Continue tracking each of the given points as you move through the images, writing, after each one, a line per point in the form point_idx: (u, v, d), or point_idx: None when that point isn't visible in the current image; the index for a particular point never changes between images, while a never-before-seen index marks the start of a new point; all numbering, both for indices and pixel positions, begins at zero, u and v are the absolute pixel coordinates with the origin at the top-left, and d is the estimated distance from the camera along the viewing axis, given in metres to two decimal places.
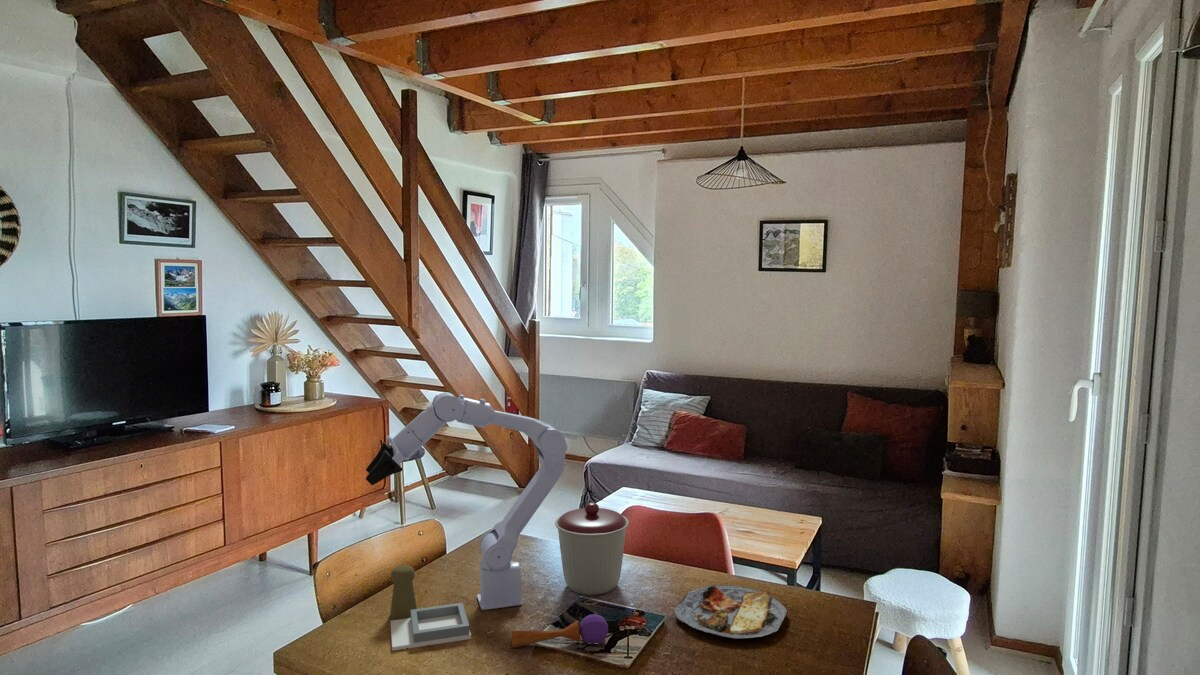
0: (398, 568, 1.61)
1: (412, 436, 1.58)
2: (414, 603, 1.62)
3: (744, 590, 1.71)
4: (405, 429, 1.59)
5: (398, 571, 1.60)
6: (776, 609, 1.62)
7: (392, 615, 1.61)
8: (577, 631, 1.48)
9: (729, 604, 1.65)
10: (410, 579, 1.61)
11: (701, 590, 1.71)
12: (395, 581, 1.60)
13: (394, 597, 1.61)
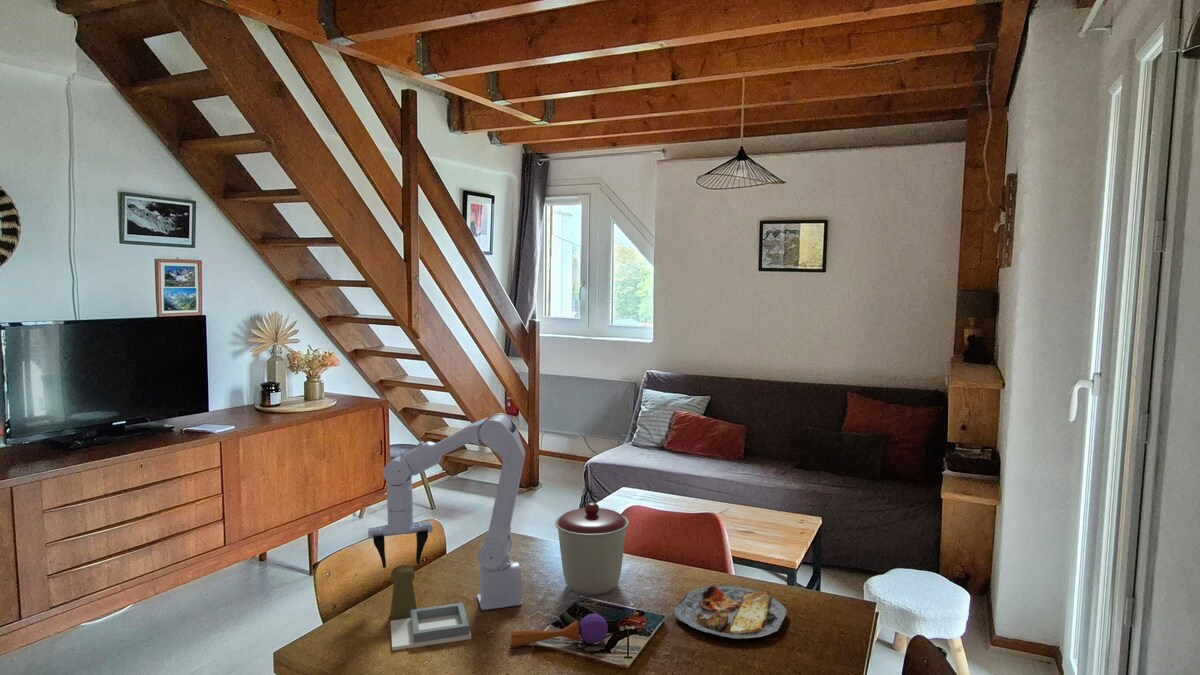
0: (398, 568, 1.61)
1: None
2: (414, 603, 1.62)
3: (744, 590, 1.71)
4: None
5: (398, 571, 1.60)
6: (776, 609, 1.62)
7: (392, 615, 1.61)
8: (576, 630, 1.48)
9: (729, 604, 1.65)
10: (410, 579, 1.61)
11: (701, 590, 1.71)
12: (395, 581, 1.60)
13: (394, 597, 1.61)
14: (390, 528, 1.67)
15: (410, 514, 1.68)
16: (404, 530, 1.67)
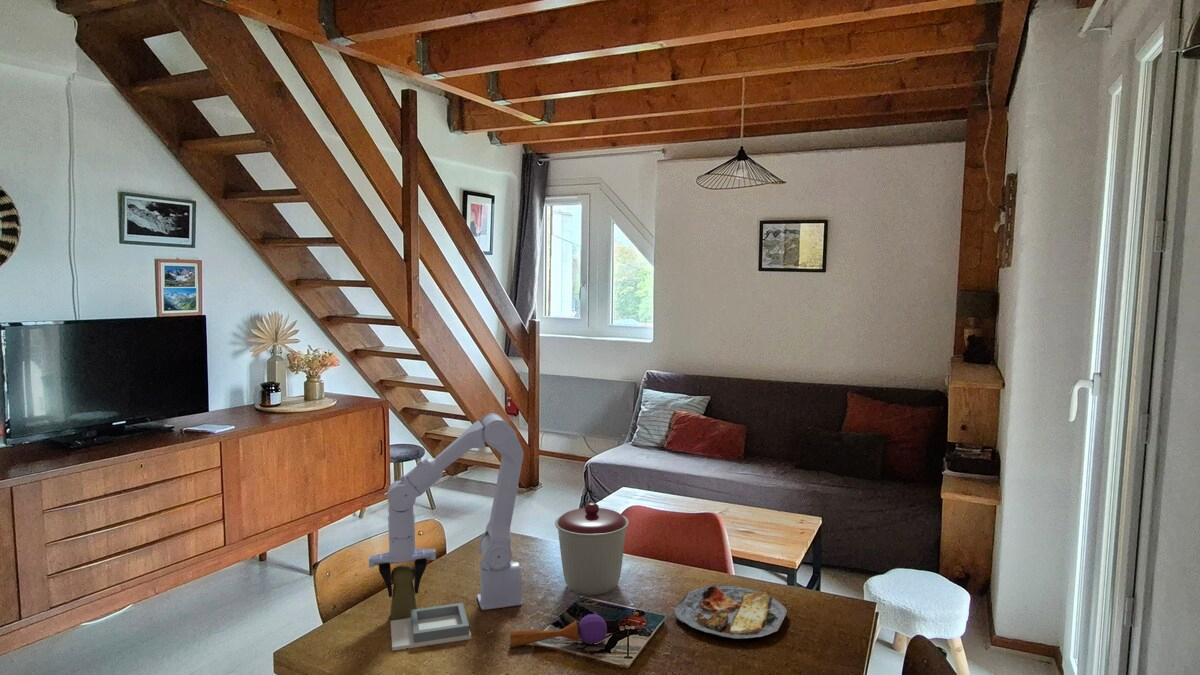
0: (398, 568, 1.61)
1: None
2: (414, 603, 1.62)
3: (744, 590, 1.71)
4: None
5: (398, 571, 1.60)
6: (776, 609, 1.62)
7: (392, 615, 1.61)
8: (576, 631, 1.48)
9: (729, 604, 1.65)
10: (410, 579, 1.61)
11: (701, 590, 1.71)
12: (395, 581, 1.60)
13: (394, 597, 1.61)
14: (392, 556, 1.59)
15: (412, 541, 1.61)
16: (406, 558, 1.59)
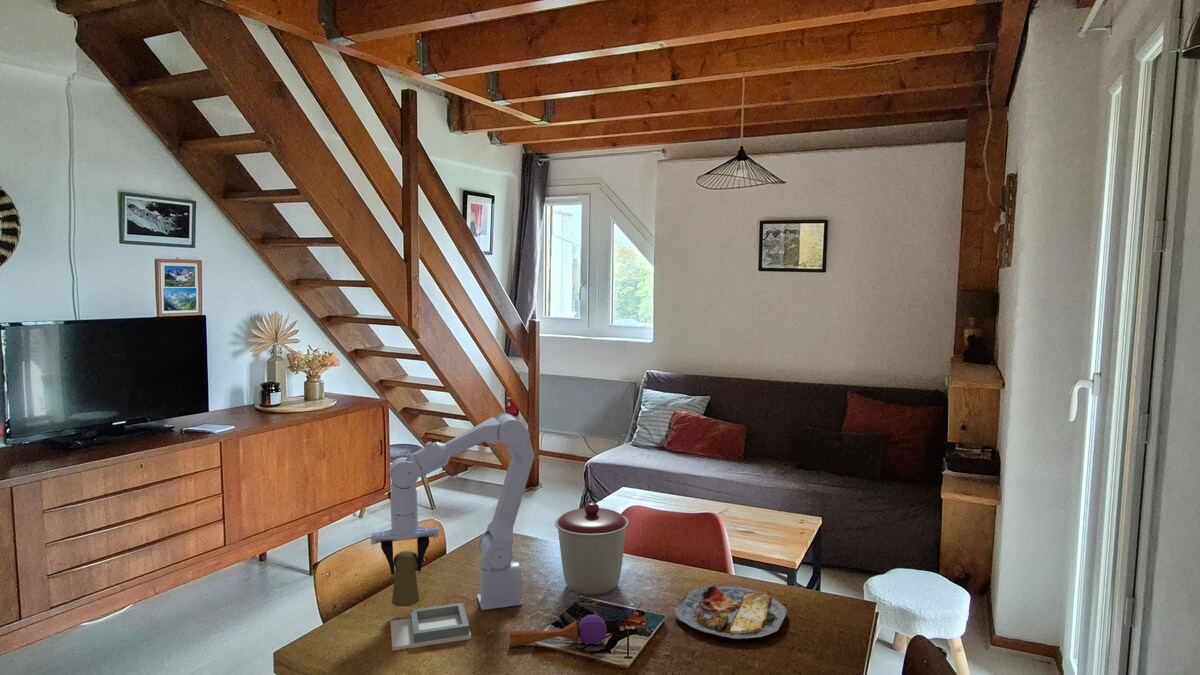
0: (401, 554, 1.61)
1: None
2: (416, 589, 1.61)
3: (744, 590, 1.71)
4: None
5: (401, 556, 1.59)
6: (776, 609, 1.62)
7: (394, 601, 1.60)
8: (575, 631, 1.48)
9: (729, 604, 1.65)
10: (413, 565, 1.60)
11: (701, 590, 1.71)
12: (398, 566, 1.59)
13: (396, 583, 1.60)
14: (394, 533, 1.58)
15: (415, 518, 1.60)
16: (409, 535, 1.58)
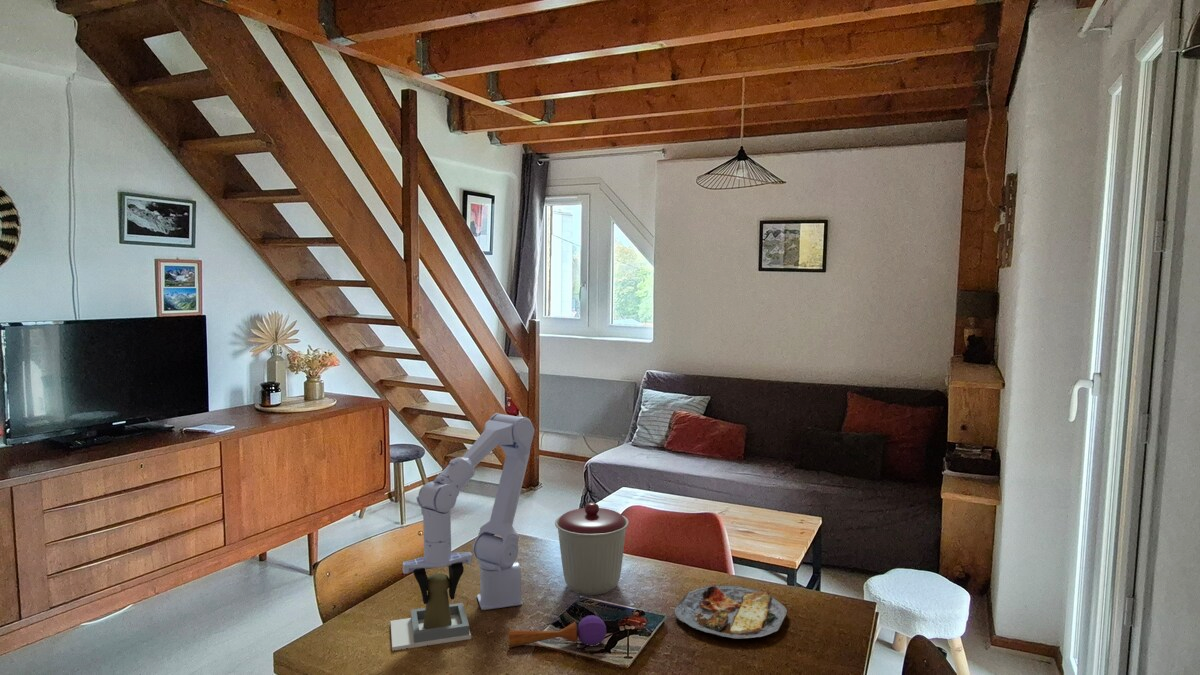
0: (433, 576, 1.55)
1: None
2: (449, 612, 1.56)
3: (744, 590, 1.71)
4: None
5: (434, 579, 1.54)
6: (776, 609, 1.62)
7: (427, 626, 1.54)
8: (574, 632, 1.47)
9: (729, 604, 1.65)
10: (446, 588, 1.54)
11: (701, 590, 1.71)
12: (431, 590, 1.53)
13: (429, 607, 1.54)
14: (428, 561, 1.52)
15: (449, 545, 1.53)
16: (444, 563, 1.52)
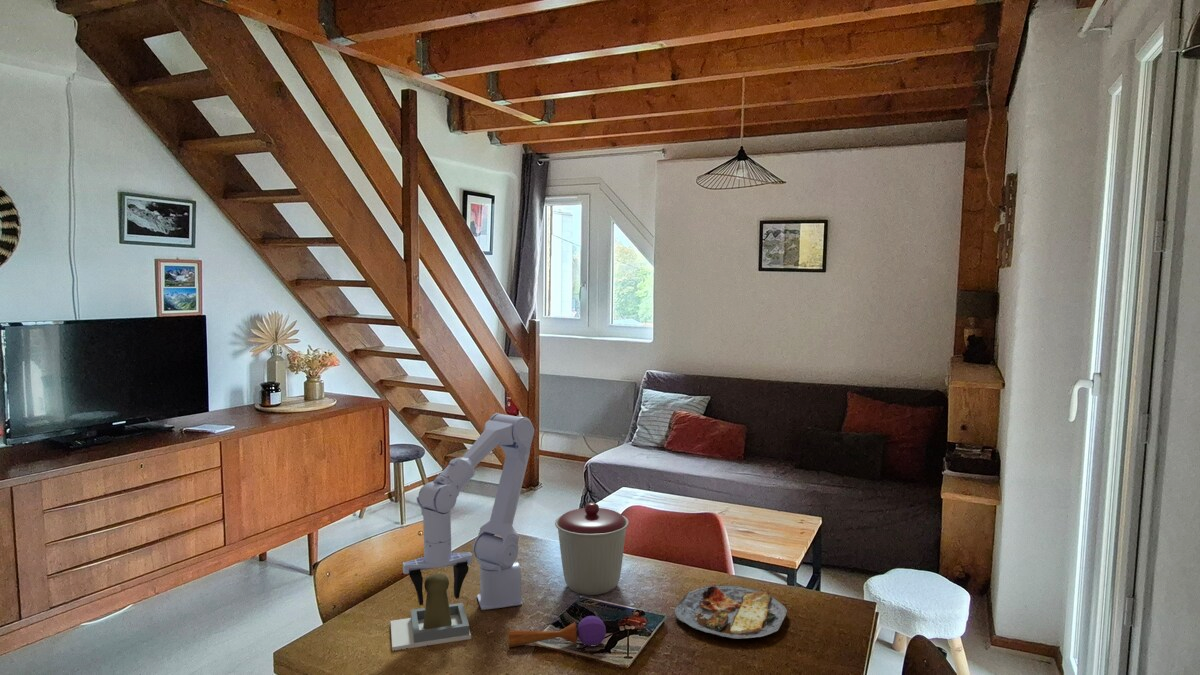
0: (432, 577, 1.55)
1: None
2: (449, 612, 1.56)
3: (744, 590, 1.71)
4: None
5: (433, 580, 1.53)
6: (776, 609, 1.62)
7: (427, 626, 1.54)
8: (574, 632, 1.47)
9: (729, 604, 1.65)
10: (446, 588, 1.54)
11: (701, 590, 1.71)
12: (431, 591, 1.53)
13: (429, 607, 1.54)
14: (428, 561, 1.52)
15: (449, 545, 1.53)
16: (444, 563, 1.52)
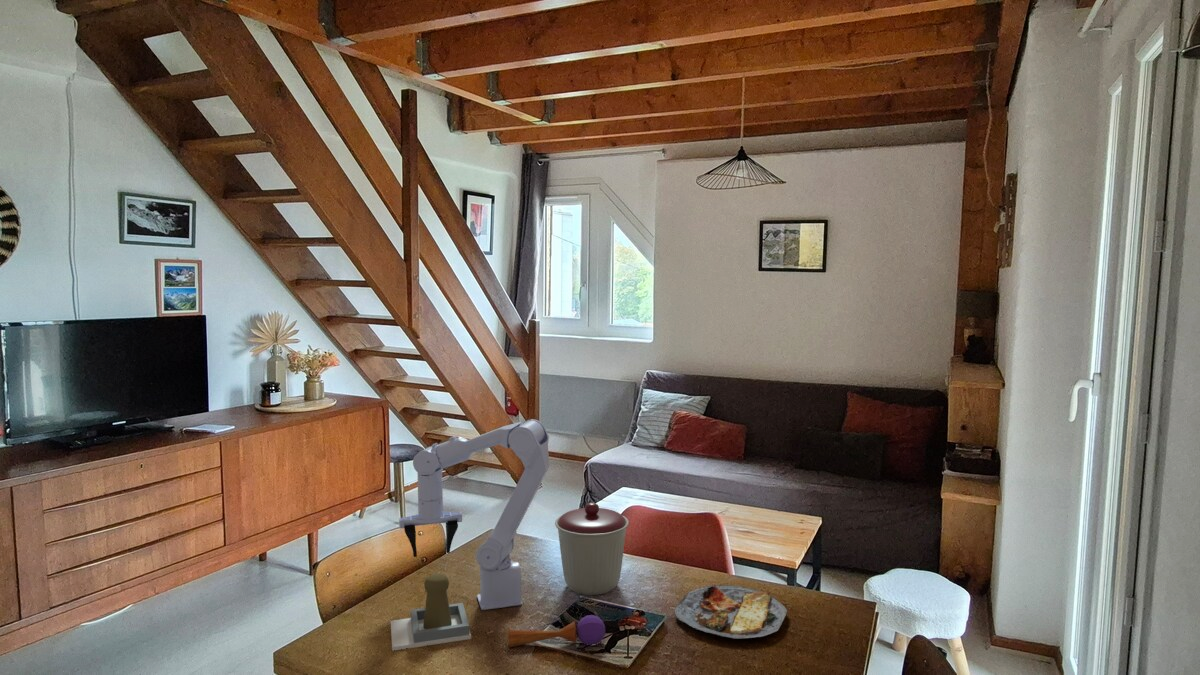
0: (432, 577, 1.55)
1: None
2: (449, 612, 1.56)
3: (744, 590, 1.71)
4: None
5: (433, 580, 1.53)
6: (776, 609, 1.62)
7: (427, 626, 1.54)
8: (573, 631, 1.48)
9: (729, 604, 1.65)
10: (446, 588, 1.54)
11: (701, 590, 1.71)
12: (431, 591, 1.53)
13: (429, 607, 1.54)
14: (421, 518, 1.69)
15: (440, 504, 1.70)
16: (435, 519, 1.68)
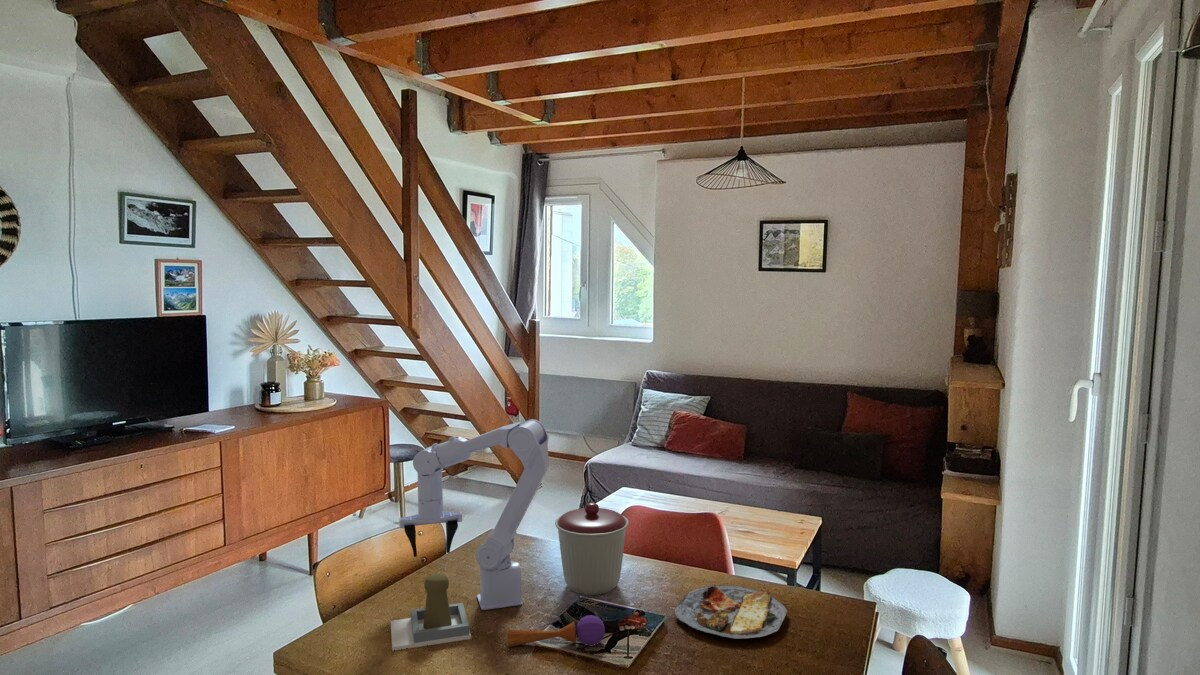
0: (432, 577, 1.55)
1: None
2: (449, 612, 1.56)
3: (744, 590, 1.71)
4: None
5: (433, 580, 1.53)
6: (776, 609, 1.62)
7: (427, 626, 1.54)
8: (573, 632, 1.48)
9: (729, 604, 1.65)
10: (446, 588, 1.54)
11: (701, 590, 1.71)
12: (431, 591, 1.53)
13: (429, 607, 1.54)
14: (421, 517, 1.69)
15: (440, 504, 1.70)
16: (435, 519, 1.69)
